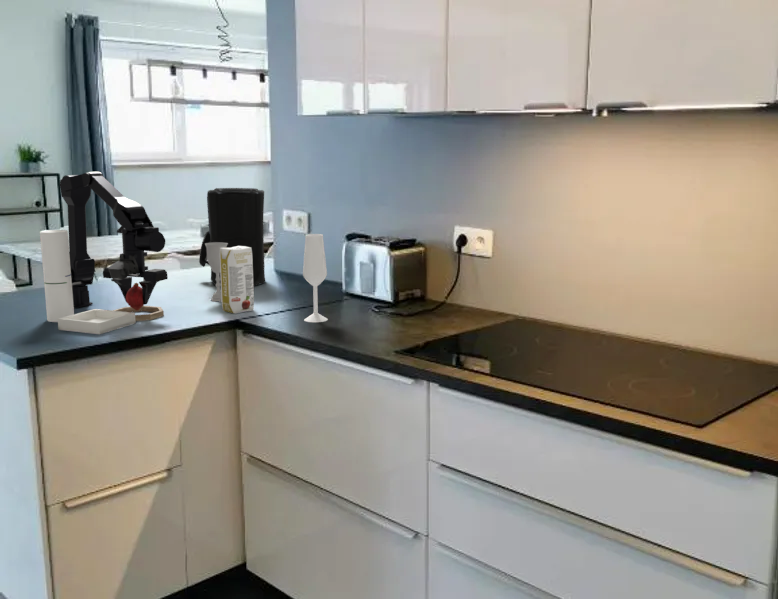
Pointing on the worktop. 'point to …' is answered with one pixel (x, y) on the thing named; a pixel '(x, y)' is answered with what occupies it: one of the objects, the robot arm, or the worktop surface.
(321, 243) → the champagne flute
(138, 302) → the onion
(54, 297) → the cylindrical container
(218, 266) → the chalice
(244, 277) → the juice carton
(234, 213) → the coffee maker
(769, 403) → the worktop surface
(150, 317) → the ring collar
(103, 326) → the tray
